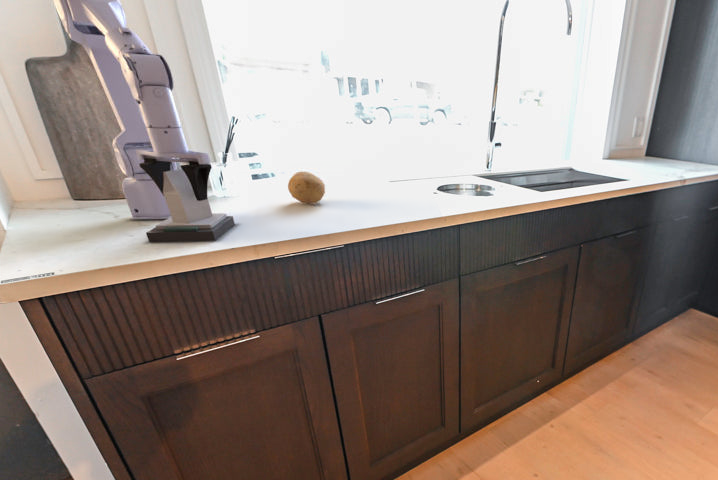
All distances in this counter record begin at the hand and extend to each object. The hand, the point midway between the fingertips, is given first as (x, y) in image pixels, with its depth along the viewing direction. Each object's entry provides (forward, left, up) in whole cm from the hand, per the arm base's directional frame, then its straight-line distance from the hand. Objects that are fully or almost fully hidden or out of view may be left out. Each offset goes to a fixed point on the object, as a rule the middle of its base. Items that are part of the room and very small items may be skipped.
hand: (186, 198), depth 90 cm
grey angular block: (0, 0, -4) cm, 5 cm away
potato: (+19, +28, -7) cm, 35 cm away
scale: (0, -1, -7) cm, 7 cm away
